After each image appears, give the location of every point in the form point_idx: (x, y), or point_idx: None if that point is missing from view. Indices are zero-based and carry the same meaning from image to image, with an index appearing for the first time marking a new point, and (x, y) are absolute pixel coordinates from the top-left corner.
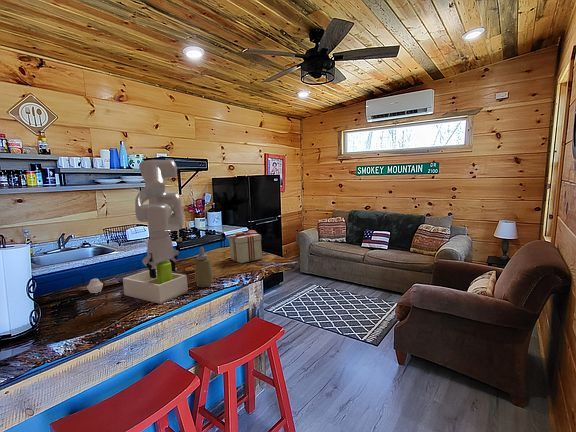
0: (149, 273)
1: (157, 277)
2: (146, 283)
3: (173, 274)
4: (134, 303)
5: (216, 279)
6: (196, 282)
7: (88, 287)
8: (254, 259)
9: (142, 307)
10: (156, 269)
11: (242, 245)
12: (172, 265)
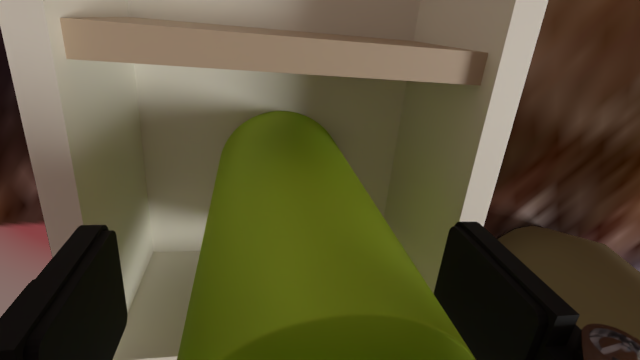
0: (11, 305)
1: (206, 234)
2: (37, 182)
3: (461, 200)
4: (2, 37)
5: (634, 247)
6: (511, 248)
7: None
8: None
9: (8, 192)
10: (201, 300)
11: None
12: (483, 353)
